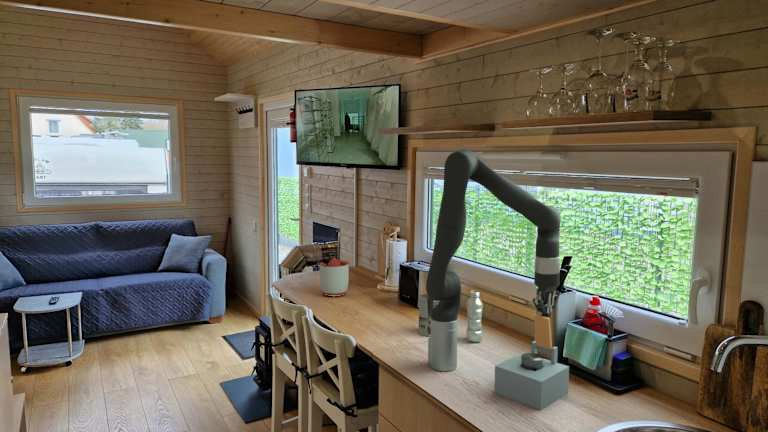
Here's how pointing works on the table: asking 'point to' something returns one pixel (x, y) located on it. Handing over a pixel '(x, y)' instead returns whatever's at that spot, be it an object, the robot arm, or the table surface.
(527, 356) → the pin
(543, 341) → the tan flat wooden board
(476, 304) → the plastic bottle
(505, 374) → the block
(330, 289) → the pale green pot
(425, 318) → the coffee box
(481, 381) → the table surface
